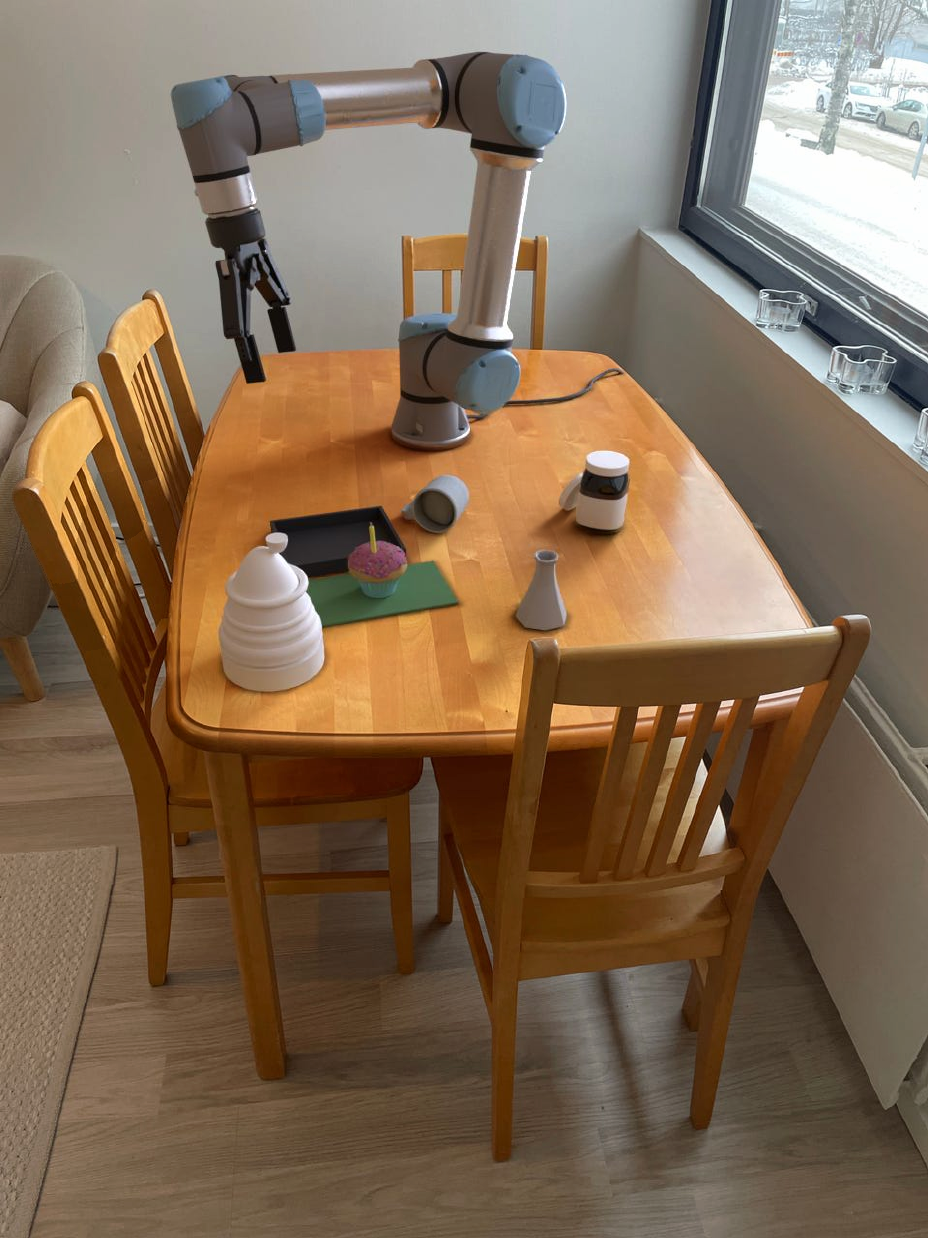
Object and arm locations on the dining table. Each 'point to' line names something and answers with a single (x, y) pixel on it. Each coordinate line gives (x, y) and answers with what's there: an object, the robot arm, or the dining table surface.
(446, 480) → the ceramic mug
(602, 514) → the spread jar
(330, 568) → the baking pan
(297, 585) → the honey pot
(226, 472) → the dining table surface
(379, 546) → the cupcake
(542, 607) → the flask
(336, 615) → the green cloth
